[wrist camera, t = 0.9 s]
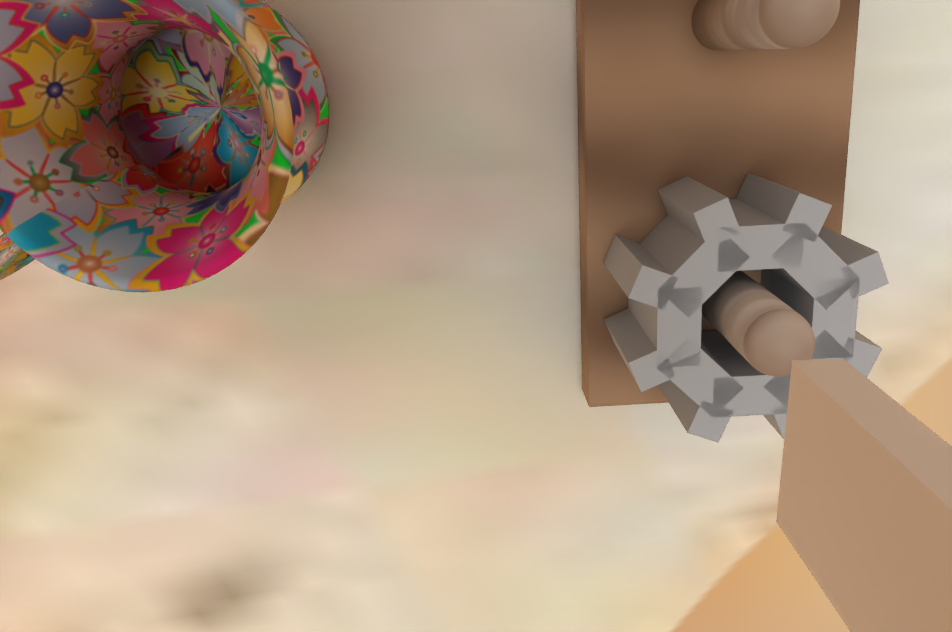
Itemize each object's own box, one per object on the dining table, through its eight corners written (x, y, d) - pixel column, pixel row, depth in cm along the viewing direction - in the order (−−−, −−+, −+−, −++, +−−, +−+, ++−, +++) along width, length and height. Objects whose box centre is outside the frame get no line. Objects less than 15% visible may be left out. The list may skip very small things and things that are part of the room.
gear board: (574, -116, 30) (629, -196, 21) (845, -131, 31) (1025, -217, 21) (582, 388, 36) (627, 507, 27) (808, 375, 36) (935, 489, 27)
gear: (602, 180, 32) (628, 202, 27) (831, 167, 32) (898, 187, 27) (603, 393, 34) (628, 447, 29) (815, 381, 34) (873, 433, 30)
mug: (224, -76, 31) (109, -142, 20) (391, 121, 33) (362, 150, 23) (6, 135, 33) (-196, 171, 23) (177, 308, 35) (63, 411, 25)
